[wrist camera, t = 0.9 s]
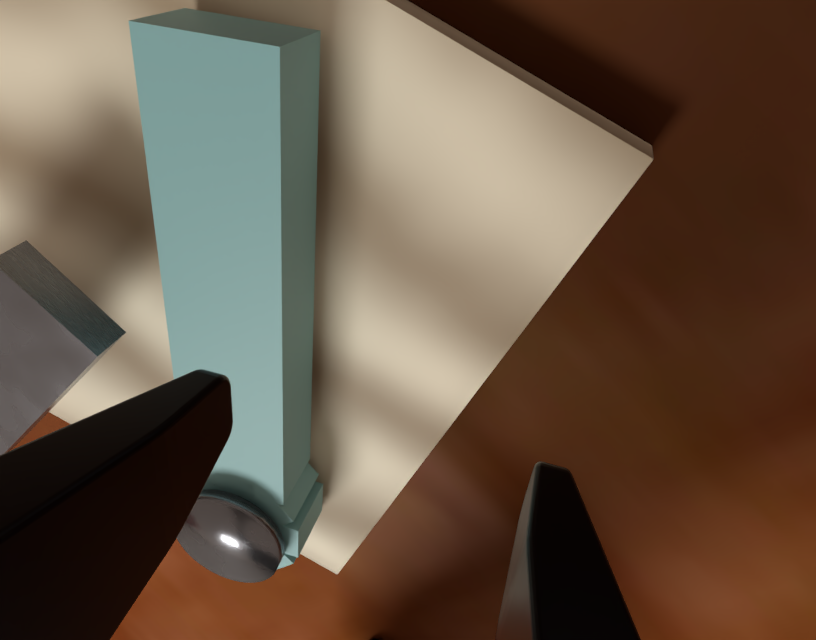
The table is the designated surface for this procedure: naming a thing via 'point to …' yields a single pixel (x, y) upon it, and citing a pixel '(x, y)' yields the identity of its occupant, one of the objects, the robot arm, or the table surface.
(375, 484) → the base board
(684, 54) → the table surface
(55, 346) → the pintle and keeper
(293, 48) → the link
